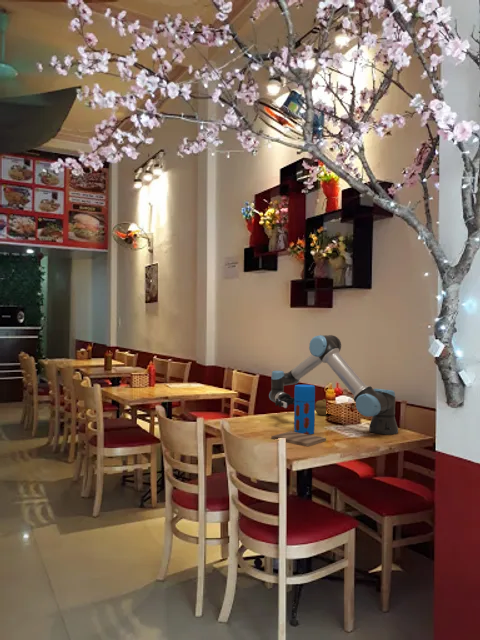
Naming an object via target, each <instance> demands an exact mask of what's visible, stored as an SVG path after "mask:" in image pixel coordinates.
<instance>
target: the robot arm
mask: <svg viewBox="0 0 480 640" xmlns="http://www.w3.org/2000/svg"><path fill="white" fill-rule="evenodd" d="M308 349H309V352H310V354H311V355H309V356H308V357H306V358H305V359H304V360H303V361H301V362H300V363H299V364H297V365H296V366H295V367H293V368H292V369H291V370H290V371H288V372H284V370H273V371H271V377H270V378H271V380H270V382H271V388H270V389H271V390H270V391H269V394H268V398H269V400H270V401H272V403H275V406H276V407H277V406H278V408H281V407H282V408H284V409H287V408H288V406H290V405H294V397H292V396H291V395H290V394H289V393H286V392H284V390H285V388H284V387H285V386H291V385H292V386H293V385H294V386H295V385H298V383H299V382H300V380H301V379H302V378H303V377H305V376H307V375H308V374H309V373H310V372H312V371H313V370H314V369H315V368H317V367H318V366H320V365H321V364H327V365H328V366H329V367H330V368H331V370H332V371H333V372H334V373H335V374H336V376H337V377H338V379H339V380H340V381H341V382H342V383H343V384H344V386H345V388H347V389H348V391H349V392H350V393H351V394H352V395H353V401H354V403H355V408H356V410H357V412H358V413H359V414H361V415H362V416H364V417H372V418H371V421H370V423H369V426H368V430H369V432H370V433H373V434H378V435H396V434H398V433H399V427H398V425H397V421H396V417H395V416H396V392H395V391H394V390H393V389H384V388H373V387H372V386H371V385H367V384H366V383H365V382H364V381H363V379H362V378H360V376H359V375H358V374H357V373H356V372H355V370H354V369H353V368H352V367H351V366H350V365H349V363H348V362H347V361H346V359H344V357H343V356H342V355H341V354H340V351H342V342H341V339H339V337H337V336H335V335H333V334H329V335H328V334H327V335H323V334H322V335H321V334H320V335H315V336H313V337H312V338H311V339H310V342H309V348H308Z"/></svg>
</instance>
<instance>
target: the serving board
mask: <svg viewBox="0 0 480 640" xmlns="http://www.w3.org/2000/svg"><path fill="white" fill-rule="evenodd" d="M278 438H286V442H285V443H289V444H294V445H299V446H303V447H310V446H314V445H318V444H321V443H323V442H326V441H327V438H326V437H323V436H318V435H313V434H309V435H308V434H303V433H298V432H294V430H293V431H292V430H290V431H285V432H282V433H278V434H273V435H271V440H275V439H278ZM275 441H276V440H275Z"/></svg>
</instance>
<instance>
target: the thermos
mask: <svg viewBox="0 0 480 640" xmlns="http://www.w3.org/2000/svg"><path fill="white" fill-rule="evenodd" d="M293 398H294V402H293V403H294V404H293V406H294V409H293V410H294V412H293V413H294V414H293V415H294V417H293V429H294V430H293V432H298V433H303V434H308V435H313V434H315V422H316V421H315V419H316V418H315V417H316V416H315V415H316V414H315V413H316V411H315V408H316V406H315V403H316V401H315V400H316V386H315V385H314V384H294V397H293Z"/></svg>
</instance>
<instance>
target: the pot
mask: <svg viewBox="0 0 480 640" xmlns="http://www.w3.org/2000/svg"><path fill="white" fill-rule="evenodd" d="M326 400H327V399H325V398H323V399H322V400H321V399H320V400H317V401H315V413H316V414H317V415H320V416H327V415H326Z"/></svg>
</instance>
